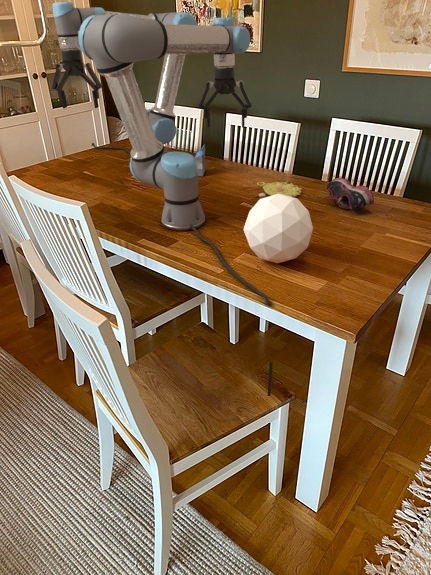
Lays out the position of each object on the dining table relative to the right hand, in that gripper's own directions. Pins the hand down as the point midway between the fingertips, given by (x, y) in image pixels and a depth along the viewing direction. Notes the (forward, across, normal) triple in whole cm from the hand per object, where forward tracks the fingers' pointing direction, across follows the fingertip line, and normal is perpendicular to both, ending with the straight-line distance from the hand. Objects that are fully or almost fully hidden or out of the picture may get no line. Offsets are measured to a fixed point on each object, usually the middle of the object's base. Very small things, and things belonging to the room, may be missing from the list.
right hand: (225, 126), depth 174 cm
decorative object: (+24, +22, -6) cm, 33 cm away
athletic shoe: (+24, +46, -19) cm, 55 cm away
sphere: (+23, +23, -62) cm, 70 cm away
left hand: (-7, -61, +5) cm, 61 cm away
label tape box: (+24, -14, +15) cm, 32 cm away
